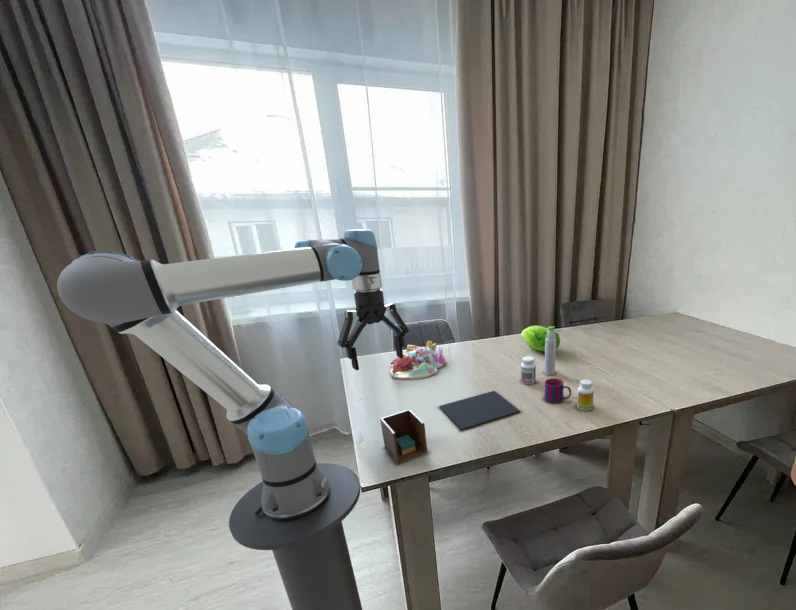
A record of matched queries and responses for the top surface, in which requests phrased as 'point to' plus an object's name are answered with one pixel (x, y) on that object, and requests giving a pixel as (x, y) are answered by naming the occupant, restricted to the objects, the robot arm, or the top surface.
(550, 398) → the mug
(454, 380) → the top surface
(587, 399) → the supplement bottle
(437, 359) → the candy landscape model
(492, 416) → the mat
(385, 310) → the robot arm
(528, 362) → the pill bottle
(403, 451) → the block
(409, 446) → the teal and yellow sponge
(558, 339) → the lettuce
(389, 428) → the open wooden box
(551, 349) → the bottle
